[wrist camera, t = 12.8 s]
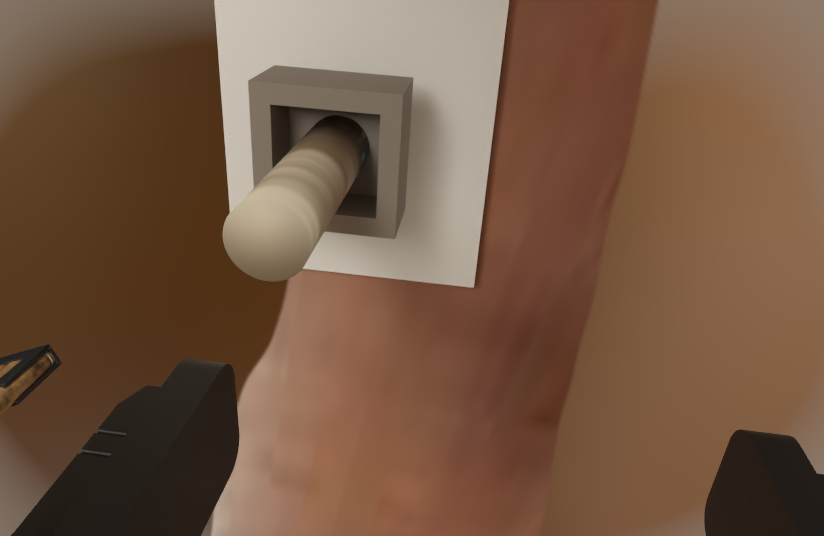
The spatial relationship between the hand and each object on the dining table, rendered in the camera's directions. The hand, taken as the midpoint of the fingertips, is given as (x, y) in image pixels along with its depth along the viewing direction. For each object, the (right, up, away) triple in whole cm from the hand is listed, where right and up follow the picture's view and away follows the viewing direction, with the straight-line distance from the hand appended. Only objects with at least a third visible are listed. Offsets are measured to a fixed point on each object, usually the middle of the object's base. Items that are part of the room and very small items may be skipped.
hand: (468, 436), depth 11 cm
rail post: (-5, +9, +23) cm, 25 cm away
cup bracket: (-4, +12, +29) cm, 31 cm away
